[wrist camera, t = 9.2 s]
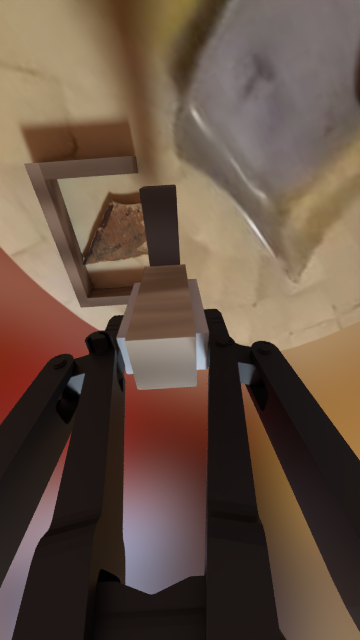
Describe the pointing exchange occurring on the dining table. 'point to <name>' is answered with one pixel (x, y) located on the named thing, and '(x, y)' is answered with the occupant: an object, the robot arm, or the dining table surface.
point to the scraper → (162, 302)
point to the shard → (118, 234)
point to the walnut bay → (60, 223)
